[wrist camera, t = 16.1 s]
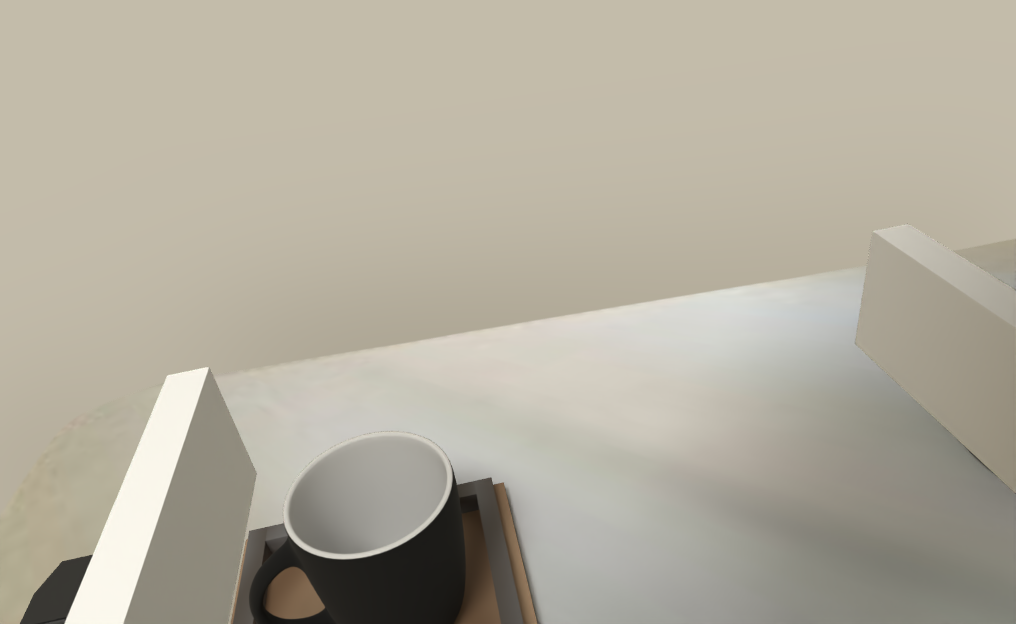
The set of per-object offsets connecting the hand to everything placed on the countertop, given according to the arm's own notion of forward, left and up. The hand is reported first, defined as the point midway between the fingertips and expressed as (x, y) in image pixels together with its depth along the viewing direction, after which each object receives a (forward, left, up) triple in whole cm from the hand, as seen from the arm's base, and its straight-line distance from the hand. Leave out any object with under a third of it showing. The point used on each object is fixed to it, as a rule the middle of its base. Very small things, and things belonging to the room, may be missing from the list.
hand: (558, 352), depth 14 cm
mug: (+9, -16, -28) cm, 34 cm away
